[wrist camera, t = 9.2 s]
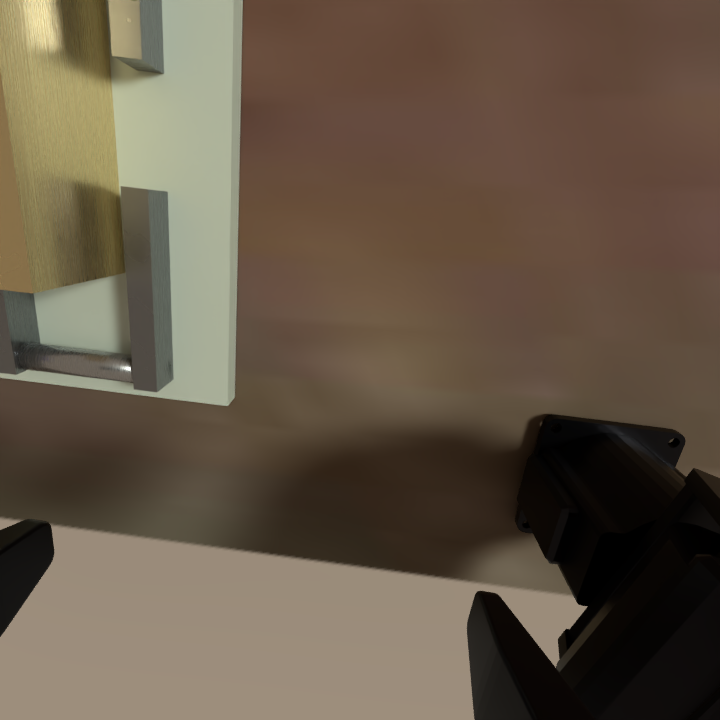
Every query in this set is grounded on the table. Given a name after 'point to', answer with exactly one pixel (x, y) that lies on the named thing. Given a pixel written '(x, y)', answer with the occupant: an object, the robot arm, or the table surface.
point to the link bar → (57, 146)
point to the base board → (172, 206)
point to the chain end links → (142, 255)
